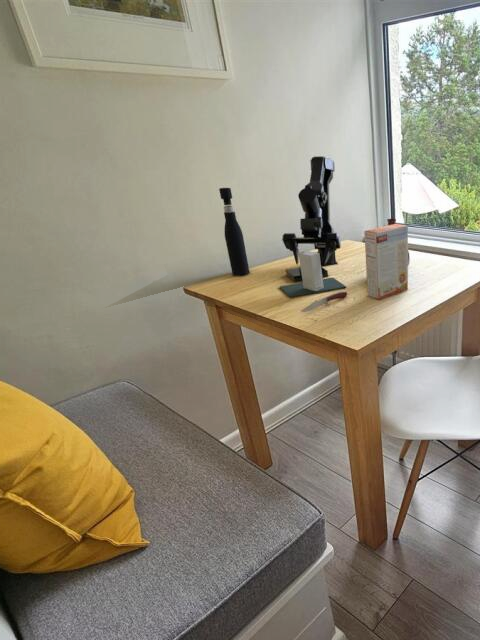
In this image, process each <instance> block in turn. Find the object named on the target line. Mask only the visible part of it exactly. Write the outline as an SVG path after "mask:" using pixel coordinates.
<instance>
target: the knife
mask: <svg viewBox="0 0 480 640" xmlns="http://www.w3.org/2000/svg"><path fill="white" fill-rule="evenodd" d="M347 296H348V291H346V290H345V291H342V290H341V291H336V292H335V293H331V294H329V295H326V296H324V297H323V298H321V299H319V300H315V301H313V302H311V303H310V304H309V305H307V306H305V307H304V308H302V309H301V310H300V312H301V313H308V312H311V311H313V310H316V309H318V308H320V307H322V306H324V305H325V306H326V307H327V306H328V305H329V303H330V302H331V301H334V300H335V301H336V300H344V299H345V298H346V297H347Z"/></svg>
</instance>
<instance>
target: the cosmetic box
mask: <svg viewBox="0 0 480 640" xmlns="http://www.w3.org/2000/svg"><path fill="white" fill-rule="evenodd" d="M298 262H299V267H301V274H302V280H303V281H302V283H303V287H304V288H305V289H308V290H312V291H319V290H321V289H323V288H324V286H323V279H324V277H323V278H322V270H321V267H322V265H321V262H320V254H319V253H317V252H315V251H310V250H304V251H302V252H299V260H298Z"/></svg>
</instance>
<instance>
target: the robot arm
mask: <svg viewBox="0 0 480 640" xmlns="http://www.w3.org/2000/svg"><path fill="white" fill-rule="evenodd" d="M309 161H310V171H311V172H310V179H309V183H307V184H305V185H304V188H302V189H301V190H300V191H299V193H298V197H297V198H298V200H299V202H300V206H301V209H302V212H303V213H304V218H300V219H299V220H300V221H299V222H300V230H301V235H302V236H299V237H298V236H297V235H296V233H295V232H288V233H287V232H286V233H283V235H282V239H281V240H282V243H283V245H284V248H285V249H286V250H289V252H292V254H293V257H294V261H295V264H296V265H299V253H300V252H299V245H300V244H301V245H304V244H305V245H307V244H309V245H313V246H314V250H317V252H316V253H319V254H320V262H321V267H326V266H332V265H338V261H336V251H337V250H339V249H341V237H340V234H339V233H338V232H335V230H334V228H333V226H332V224H331V217H330V215H331V214H330V213H331V212H330V211H331V209H330V208H331V207H330V184H331V182H332V180H333V179H334V173H335V170H336V169H335V167H336V166H335V161H334V160H333V159H332V158H331V157H326V156H324V155H323V156H321V155H320V156H315V155H314V156H313V157H311V159H310V160H309Z"/></svg>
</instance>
